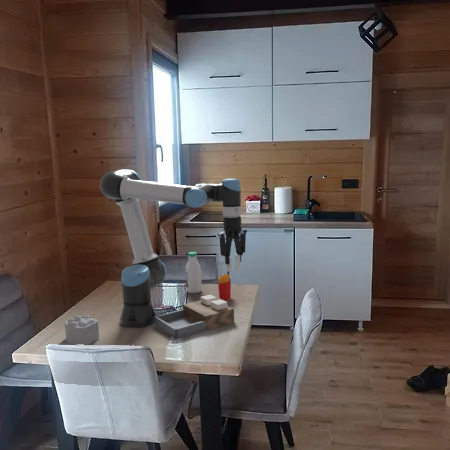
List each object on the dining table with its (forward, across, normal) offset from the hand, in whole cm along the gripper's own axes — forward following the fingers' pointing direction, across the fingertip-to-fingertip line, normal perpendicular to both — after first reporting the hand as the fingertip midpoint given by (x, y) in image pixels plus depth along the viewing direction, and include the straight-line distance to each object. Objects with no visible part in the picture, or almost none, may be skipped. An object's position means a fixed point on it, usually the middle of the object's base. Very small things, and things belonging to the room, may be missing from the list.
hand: (233, 270), depth 210 cm
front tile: (+15, -8, 0) cm, 17 cm away
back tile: (+15, -8, +8) cm, 18 cm away
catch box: (+21, -25, +4) cm, 33 cm away
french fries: (+21, +10, +22) cm, 32 cm away
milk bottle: (+21, +5, +42) cm, 47 cm away
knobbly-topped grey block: (+21, -61, +19) cm, 67 cm away
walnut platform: (+21, -11, +4) cm, 24 cm away
